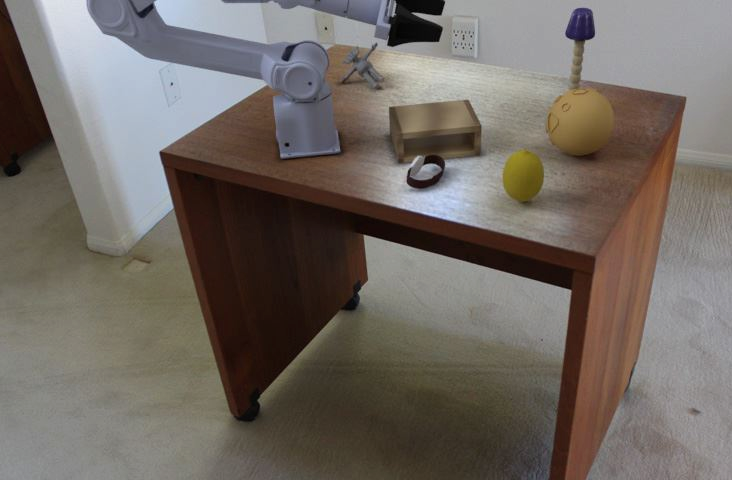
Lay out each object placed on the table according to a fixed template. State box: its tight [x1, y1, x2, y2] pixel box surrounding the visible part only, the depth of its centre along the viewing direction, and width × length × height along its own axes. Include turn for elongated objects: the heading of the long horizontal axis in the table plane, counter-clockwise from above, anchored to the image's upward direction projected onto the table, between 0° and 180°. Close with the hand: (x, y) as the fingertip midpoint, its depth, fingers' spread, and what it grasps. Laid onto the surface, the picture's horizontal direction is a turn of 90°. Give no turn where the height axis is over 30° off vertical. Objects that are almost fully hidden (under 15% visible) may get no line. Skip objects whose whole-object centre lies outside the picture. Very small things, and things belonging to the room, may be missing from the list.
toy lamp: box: [564, 7, 596, 91], centre depth 122 cm, size 5×5×17 cm
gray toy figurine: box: [340, 42, 386, 90], centre depth 140 cm, size 10×6×9 cm
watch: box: [406, 155, 446, 190], centre depth 109 cm, size 8×5×4 cm, turn 145°
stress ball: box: [544, 86, 615, 157], centre depth 112 cm, size 10×10×10 cm
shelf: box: [388, 99, 483, 164], centre depth 118 cm, size 13×10×5 cm
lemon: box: [502, 149, 545, 204], centre depth 102 cm, size 6×6×8 cm
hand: (442, 21), depth 108 cm, fingers open, 7 cm apart
